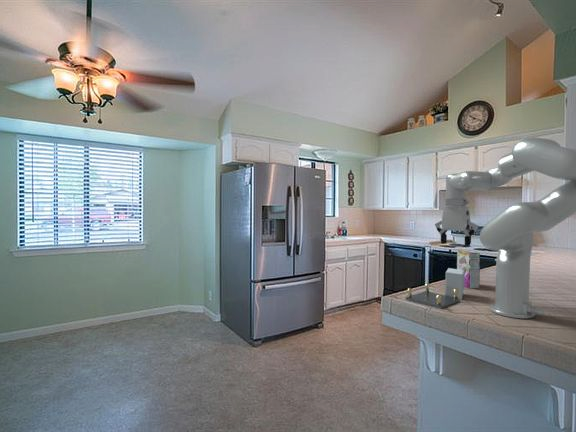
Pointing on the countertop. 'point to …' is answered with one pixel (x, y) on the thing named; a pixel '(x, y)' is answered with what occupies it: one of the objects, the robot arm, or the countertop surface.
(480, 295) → the countertop surface
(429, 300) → the chassis
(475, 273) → the candy bar box
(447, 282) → the skincare box
